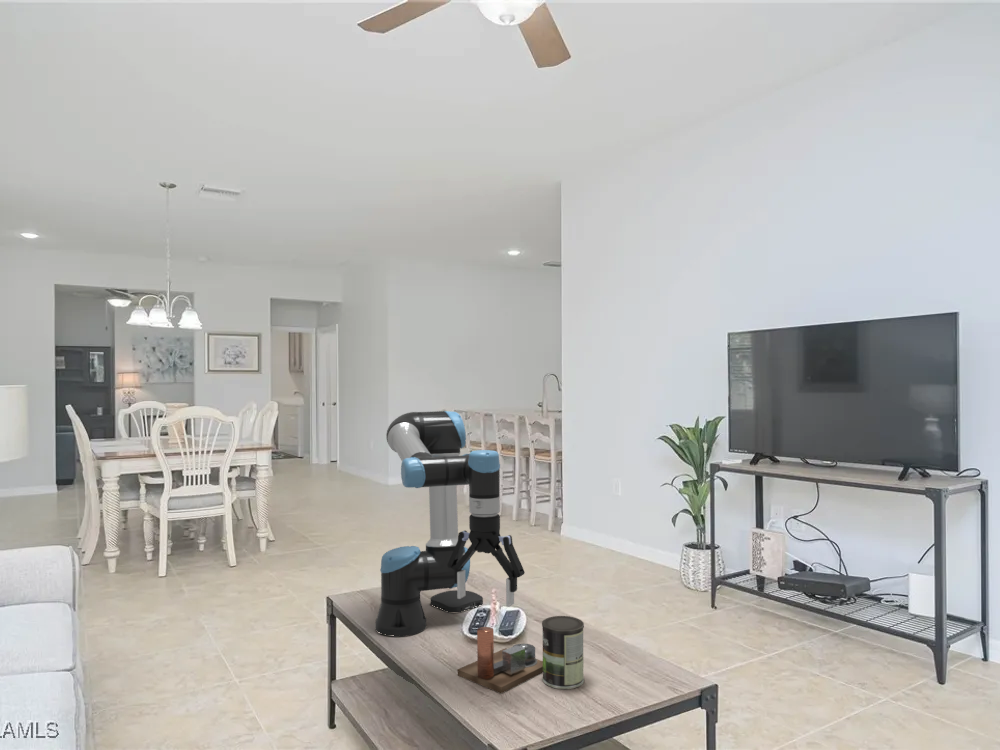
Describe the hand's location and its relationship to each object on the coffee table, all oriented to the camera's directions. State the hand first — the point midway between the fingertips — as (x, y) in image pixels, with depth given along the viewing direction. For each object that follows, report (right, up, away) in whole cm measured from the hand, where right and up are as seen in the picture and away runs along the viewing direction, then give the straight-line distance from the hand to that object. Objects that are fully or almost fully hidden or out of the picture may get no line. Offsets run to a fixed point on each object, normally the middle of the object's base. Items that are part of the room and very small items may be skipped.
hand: (485, 601), depth 165 cm
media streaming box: (-11, -21, +59) cm, 63 cm away
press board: (+4, -20, +6) cm, 21 cm away
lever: (+6, -18, +4) cm, 19 cm away
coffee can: (+19, -20, +1) cm, 28 cm away
